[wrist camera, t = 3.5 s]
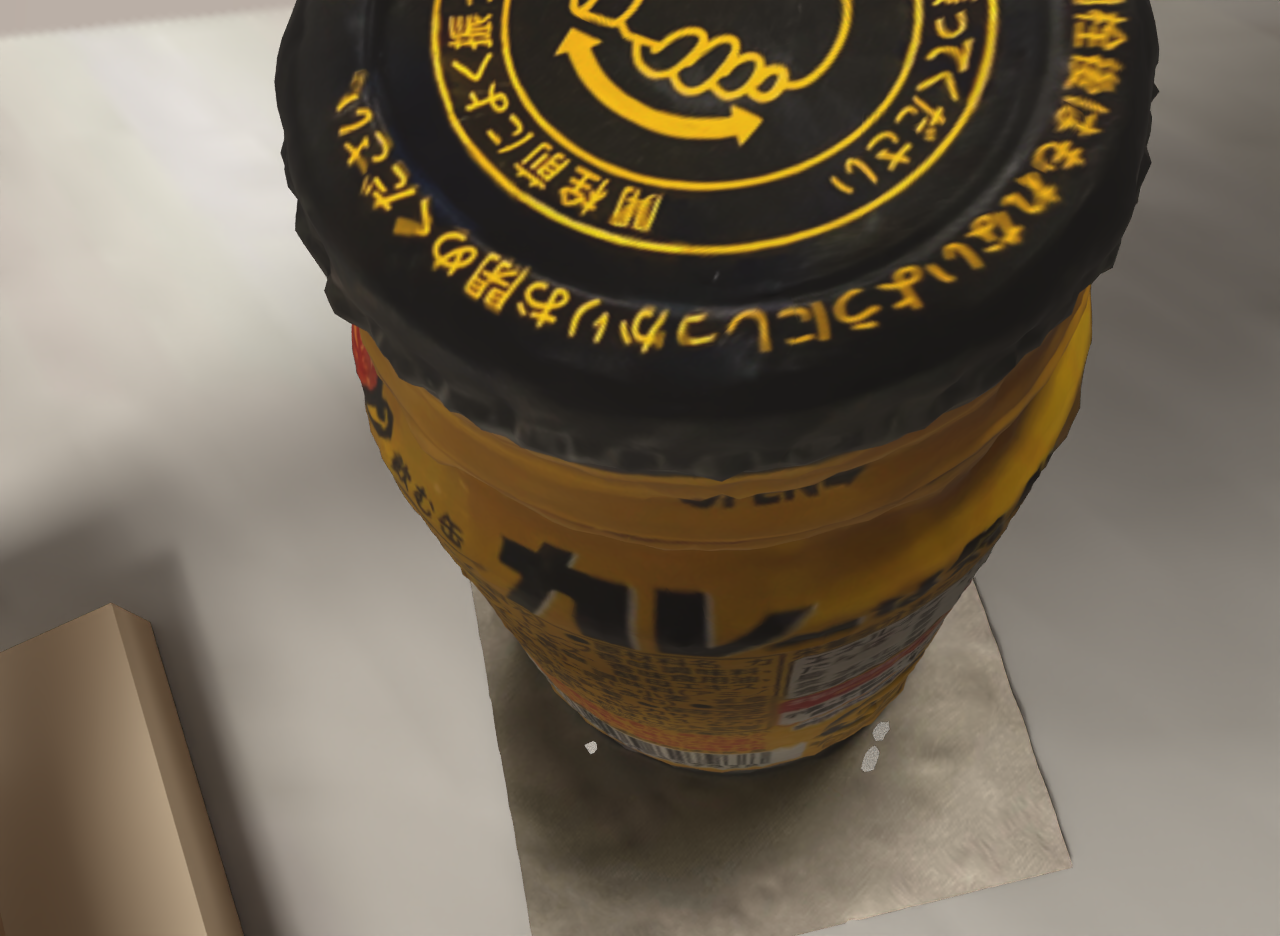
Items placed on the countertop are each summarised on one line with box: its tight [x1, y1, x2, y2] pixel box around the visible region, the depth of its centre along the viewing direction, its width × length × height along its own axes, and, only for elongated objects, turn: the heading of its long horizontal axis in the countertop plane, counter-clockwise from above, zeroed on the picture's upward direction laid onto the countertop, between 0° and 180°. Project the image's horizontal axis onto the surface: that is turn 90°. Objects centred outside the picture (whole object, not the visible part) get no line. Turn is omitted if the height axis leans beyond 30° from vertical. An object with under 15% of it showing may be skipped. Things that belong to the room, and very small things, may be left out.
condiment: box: [274, 0, 1159, 936], centre depth 12 cm, size 7×8×12 cm
